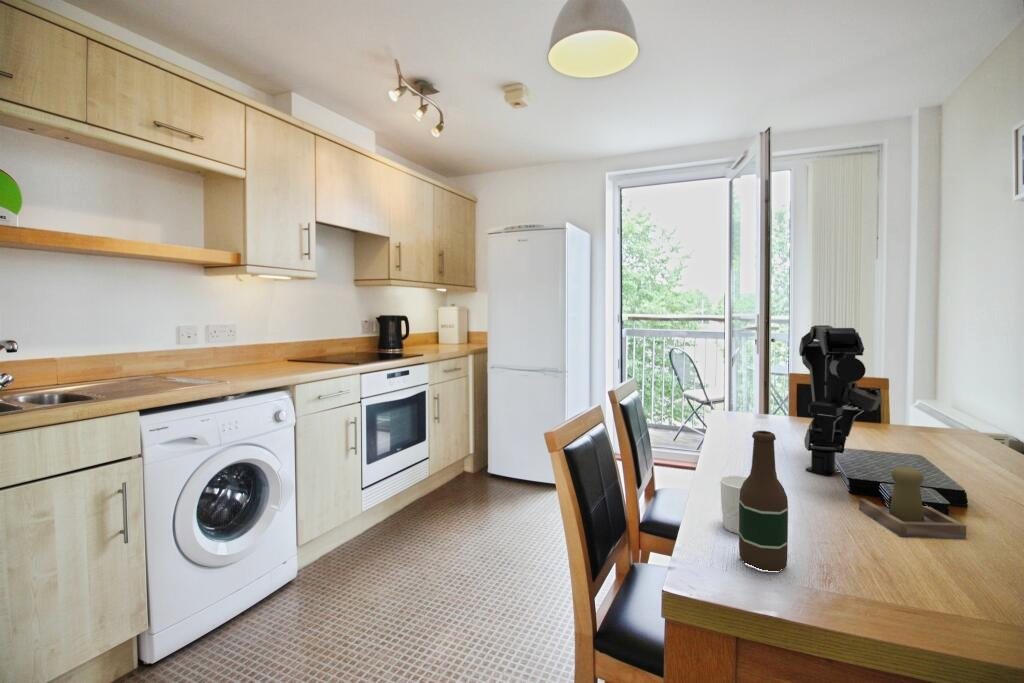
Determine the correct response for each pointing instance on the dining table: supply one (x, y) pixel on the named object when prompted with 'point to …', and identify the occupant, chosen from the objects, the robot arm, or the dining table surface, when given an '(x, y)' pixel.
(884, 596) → the dining table surface
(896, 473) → the cork
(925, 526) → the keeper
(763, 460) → the beer bottle
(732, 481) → the white cup
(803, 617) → the dining table surface
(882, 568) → the dining table surface
